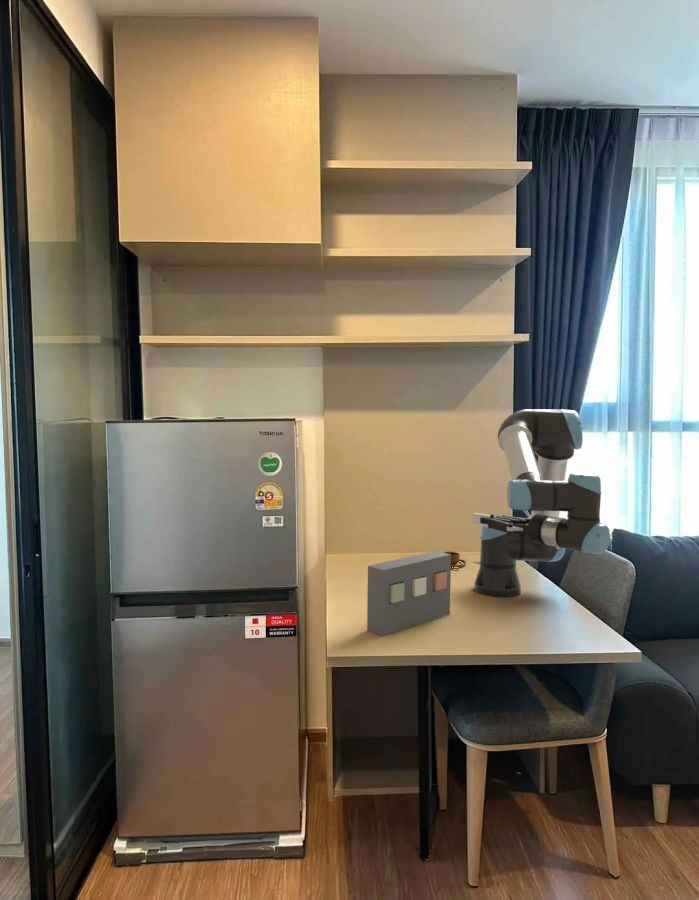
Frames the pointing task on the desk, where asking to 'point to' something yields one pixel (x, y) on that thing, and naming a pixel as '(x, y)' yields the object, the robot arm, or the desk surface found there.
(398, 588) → the sage green button
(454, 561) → the place setting
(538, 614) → the desk surface
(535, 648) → the desk surface
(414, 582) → the cream button
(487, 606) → the desk surface
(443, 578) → the terracotta button
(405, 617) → the button panel
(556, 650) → the desk surface
